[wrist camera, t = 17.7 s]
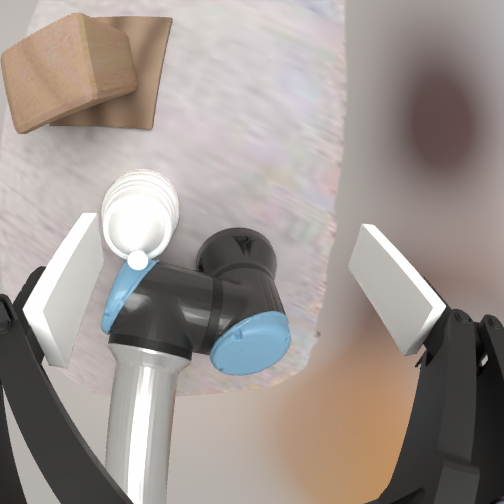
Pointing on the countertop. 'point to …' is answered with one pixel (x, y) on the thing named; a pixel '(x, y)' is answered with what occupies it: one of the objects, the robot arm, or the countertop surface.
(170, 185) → the honey pot
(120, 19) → the walnut board
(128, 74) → the wooden block
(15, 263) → the countertop surface
